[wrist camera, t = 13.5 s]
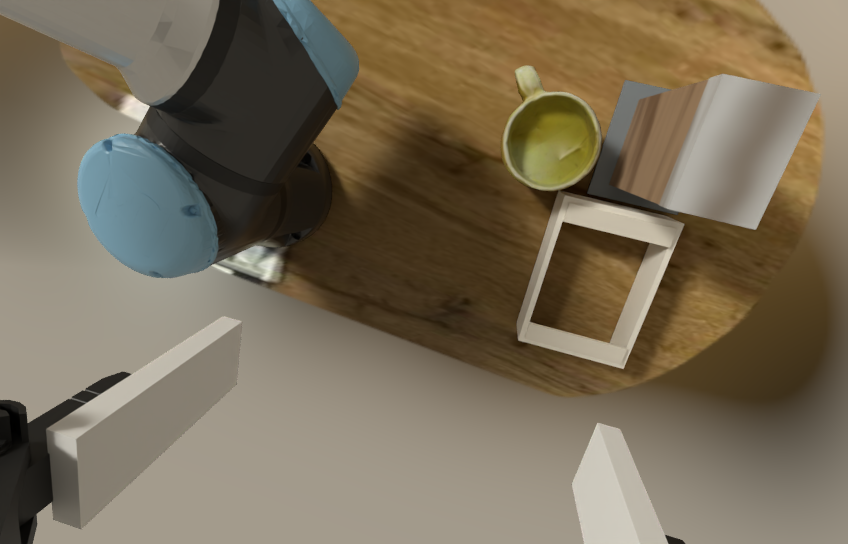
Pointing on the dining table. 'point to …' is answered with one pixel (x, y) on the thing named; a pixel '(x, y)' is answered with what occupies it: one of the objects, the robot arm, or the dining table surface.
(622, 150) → the walnut box
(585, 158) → the mug
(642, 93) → the mat
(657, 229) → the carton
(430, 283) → the dining table surface
